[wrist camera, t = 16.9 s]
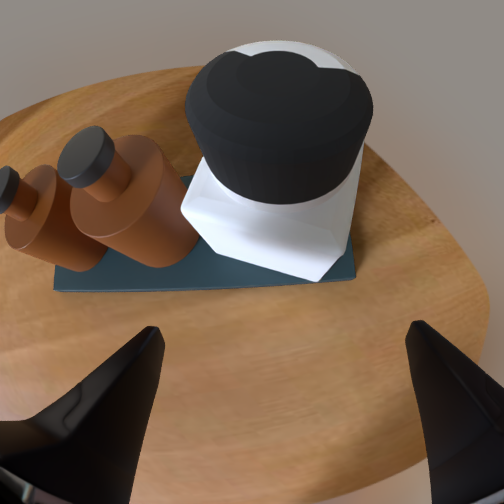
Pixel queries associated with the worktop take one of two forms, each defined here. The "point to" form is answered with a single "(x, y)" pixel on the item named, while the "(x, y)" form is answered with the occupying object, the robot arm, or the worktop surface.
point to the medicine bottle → (277, 155)
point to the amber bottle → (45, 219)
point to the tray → (187, 272)
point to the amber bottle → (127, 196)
